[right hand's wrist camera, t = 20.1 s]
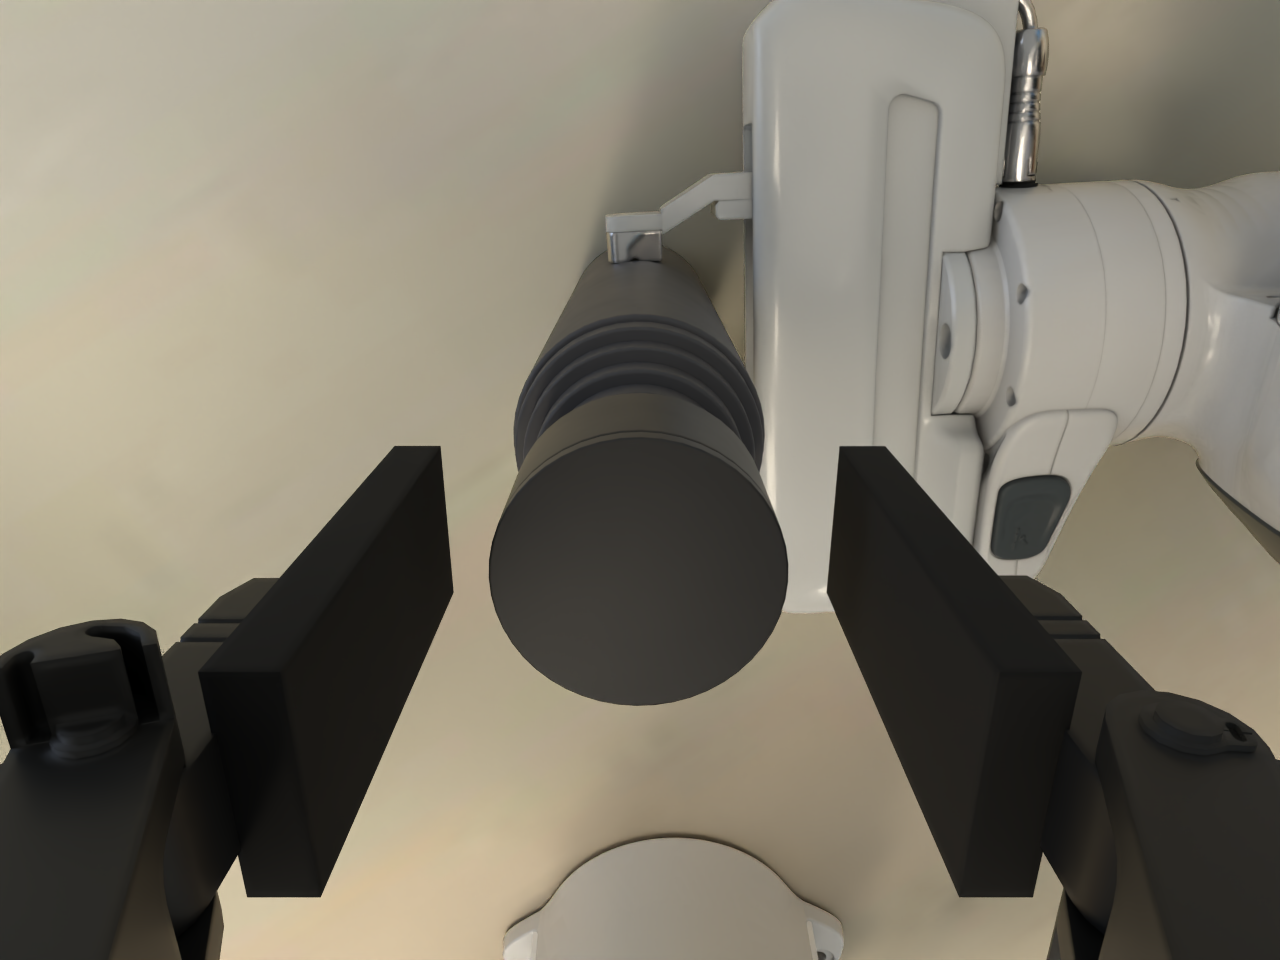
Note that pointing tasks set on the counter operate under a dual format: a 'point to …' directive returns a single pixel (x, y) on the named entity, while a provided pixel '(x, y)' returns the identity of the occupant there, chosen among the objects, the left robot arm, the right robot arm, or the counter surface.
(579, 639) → the cap
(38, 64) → the counter surface
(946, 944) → the counter surface
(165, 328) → the counter surface
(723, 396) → the bottle
